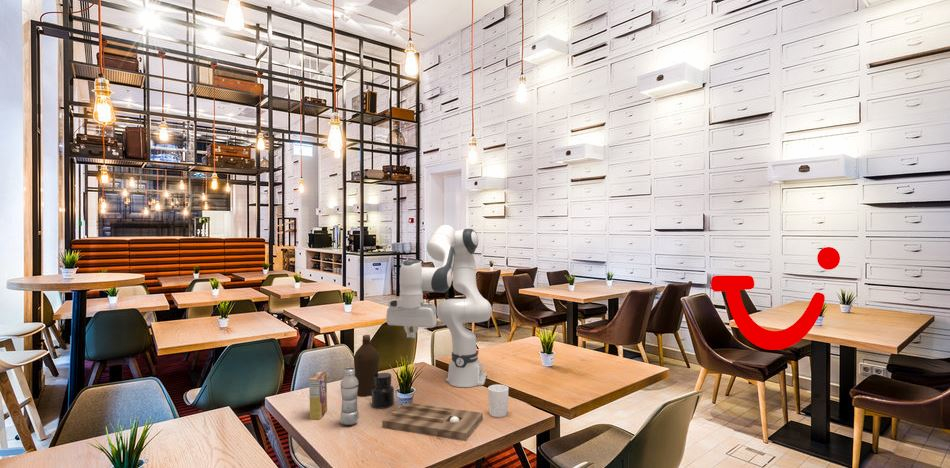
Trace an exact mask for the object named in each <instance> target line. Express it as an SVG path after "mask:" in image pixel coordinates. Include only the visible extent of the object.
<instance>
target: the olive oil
mask: <svg viewBox="0 0 950 468" xmlns="http://www.w3.org/2000/svg"><path fill="white" fill-rule="evenodd" d="M361 339H362V344H361V345H360V347H358V349H356V352H355V354H354V356H353V366H354V367H353V368H354V369H355V374H354V375H355V377H356V378H357V380H358V382H359V385H358V392H357V397H358V396H359V397H370V396H371V397H372V388H373V387H374V386H375V385H374V376H375V375H376V374H378V373H379V365H380V364H379V363H380V360H379V359H380V357H379V352H378V350H377V349H376V348H375V347H374V346H373V345H372V344H371V335H370V334H364V335H362V338H361Z"/></svg>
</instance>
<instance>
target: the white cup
mask: <svg viewBox="0 0 950 468" xmlns="http://www.w3.org/2000/svg"><path fill="white" fill-rule="evenodd" d="M487 395H488V396H487V397H488V406H489V409H488V410H489V411H488V412H489V415H490V416H492V417H494V418H503V417H506V416H507V415H508V407H509V406H508V405H509V386H507V385H505V384H492V385H489V386H488V387H487Z"/></svg>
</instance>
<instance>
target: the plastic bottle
mask: <svg viewBox="0 0 950 468" xmlns="http://www.w3.org/2000/svg"><path fill="white" fill-rule="evenodd" d="M343 370H344V373H343V375H344V376H343V378H342V379H341V381H340V390H341V391H340V392H341V399H342V400H341V409H340V410H341V411H340V415H339V418H340V422H341V425H344V426H352V425H355V424H356V423H358V421H359V414H360V413H359V408H358V395H357V392H358V385H359V382H358V380H357V378H356V377H355V369H354V367H345V368H344V369H343Z"/></svg>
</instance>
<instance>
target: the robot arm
mask: <svg viewBox="0 0 950 468" xmlns="http://www.w3.org/2000/svg"><path fill="white" fill-rule="evenodd" d="M478 245H479V237H478V233H477V232H476V230H474V229H473V228H464V229H459V230H455V229H454V227H452V226H451V225H448V224H442V225H440V226H439V227H437V228H436V229H435V230H434V232H433V233H432V234H431V235H430V237H429V239H428V240H427V243H426V251H427V252H426V253H428V256H430V257H431V259H433V260H434V261H439V262H441V263H442V265H441V266H437V267H434V266H433V267H427V266H426V267H425V266H422V262H421V260H420V259H419V260H418V259H406V260H404V261H403V262H401V264H400V265H401V266H400V268H399V269H400V270H399V286H400V291H399V297H397V298H394V299H391V300H389V301H388V302H387V306H388V308H387V309H386V316H385V317H386V319H385V321H386V323H387V325H388V326H399V327H403V329H404V332H405V333H406V338H408V339H416V338H417V335H416V333H417V332H418V330H419V328H427V329H432V328H435V327H436V325H437V318H438V319H439V320H440V321H441V322H442V323H443V324H444V325H445V326H446V327H447V328H448V330H449V332H450V335H451V342H452V351H451V356H450V357H451V362H449V364H448V375H447V376H448V377H446V378H445V382H448V383H449V385H451V386H453V387H456V388H457V387H458V388H472V387H476V386H484V385H485V383H486V380H487V377H488V373H487V372H484V371H483V364H482V362H480V360H479V358H478V357H479V356H478V355H479V350H478V349H477V336H476V333H474V332H473V331H472V330H470V329H468V328H466V327H465V326H464V324H465V323H466V324H467V323H469V324H471V323H482V322H488V321H489V320H490V319H491V317H492V314H493V308H492V304H491V303H490V302H489V300H488V299H486V298H484V297H483V295H482V294H481V293H480V292H479V289H478V286H477V269H476V268H477V267H476V260H475V255H474V254H475V251H476V250H477V248H478ZM451 286H453V288H454V290H455V291H456V292H458V293H460V294H462V295H463V296H464V297H465V298H448V299H443V300H440V301H439V303H438V304H437V306H436V305H435V304H434V303H432V302H424V299H423V297H424V296H423V295H424V293H423V292H435V293H442V294H443V293H446V292H447V291H448V290H449V289H450V288H451ZM411 327H412V330H413V331H412V332H411V331H410V328H411ZM486 376H487V377H486Z"/></svg>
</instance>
